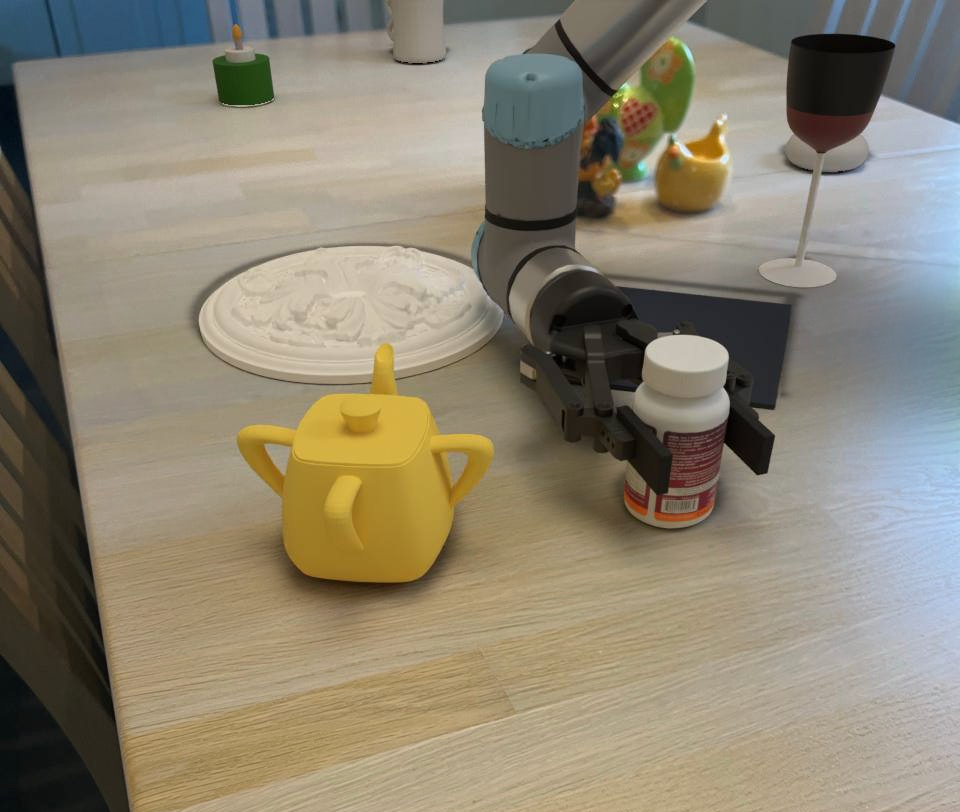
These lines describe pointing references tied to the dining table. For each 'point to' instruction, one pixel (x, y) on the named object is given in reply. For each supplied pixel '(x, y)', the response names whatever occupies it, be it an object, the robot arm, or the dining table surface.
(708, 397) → the pill bottle
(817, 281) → the wineglass
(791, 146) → the donut
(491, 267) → the robot arm
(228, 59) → the candle
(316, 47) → the dining table surface
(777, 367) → the mat
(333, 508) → the teapot
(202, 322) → the ceiling medallion
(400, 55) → the mug
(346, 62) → the dining table surface
